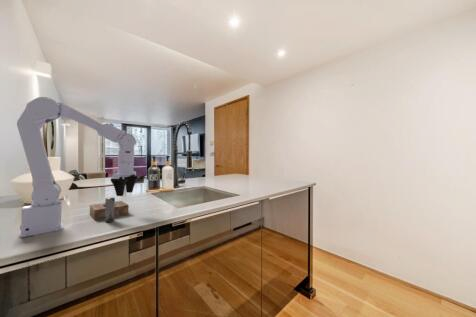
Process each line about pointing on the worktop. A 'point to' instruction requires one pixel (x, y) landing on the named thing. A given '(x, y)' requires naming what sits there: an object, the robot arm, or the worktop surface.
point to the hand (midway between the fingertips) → (124, 194)
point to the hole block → (99, 210)
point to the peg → (109, 209)
